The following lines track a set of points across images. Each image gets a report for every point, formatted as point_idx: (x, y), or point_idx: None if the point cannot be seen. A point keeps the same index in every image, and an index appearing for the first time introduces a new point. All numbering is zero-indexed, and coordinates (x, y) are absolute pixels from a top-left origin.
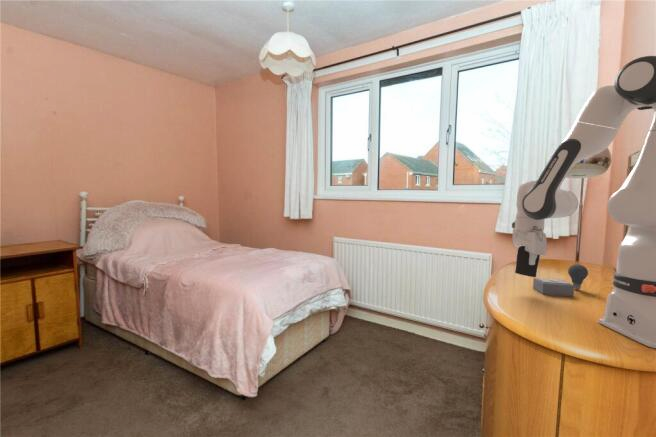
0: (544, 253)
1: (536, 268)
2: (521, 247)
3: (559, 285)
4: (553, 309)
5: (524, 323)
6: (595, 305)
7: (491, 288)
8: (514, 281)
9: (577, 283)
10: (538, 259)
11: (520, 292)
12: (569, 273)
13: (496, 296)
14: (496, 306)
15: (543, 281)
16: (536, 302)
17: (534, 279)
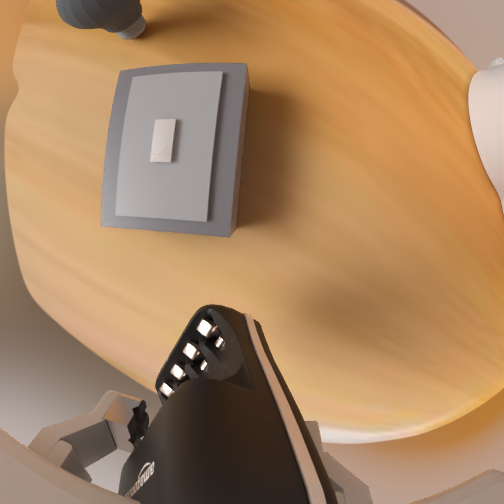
0: (499, 478)
1: (276, 366)
2: None
3: (238, 139)
4: (431, 295)
5: (474, 397)
6: (369, 82)
7: None
8: (51, 256)
9: (138, 19)
10: (308, 430)
11: None
12: (92, 25)
13: None
14: (387, 435)
15: (193, 218)
16: (365, 322)
17: (114, 226)
